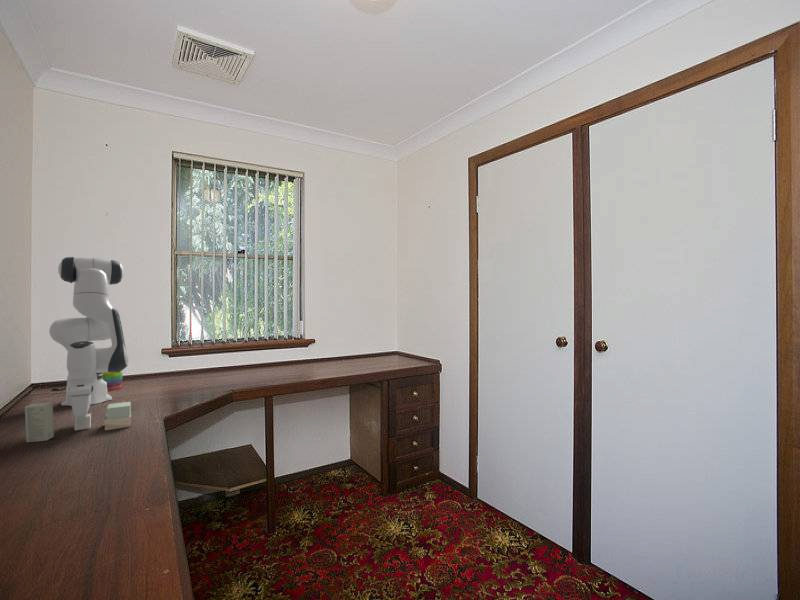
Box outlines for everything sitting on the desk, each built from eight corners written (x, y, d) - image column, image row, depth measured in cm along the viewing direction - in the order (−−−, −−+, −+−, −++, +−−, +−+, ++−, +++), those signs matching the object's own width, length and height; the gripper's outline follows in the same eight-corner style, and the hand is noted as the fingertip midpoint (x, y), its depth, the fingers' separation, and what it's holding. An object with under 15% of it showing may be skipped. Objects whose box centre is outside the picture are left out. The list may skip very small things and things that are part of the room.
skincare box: (54, 436, 144) (54, 401, 144) (46, 441, 140) (46, 405, 140) (33, 438, 143) (32, 403, 143) (24, 442, 139) (24, 406, 139)
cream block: (75, 427, 155) (75, 415, 155) (91, 425, 157) (90, 413, 157) (74, 430, 151) (74, 418, 151) (90, 428, 154) (89, 416, 154)
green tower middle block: (108, 414, 158) (108, 404, 158) (130, 411, 162) (130, 401, 162) (107, 419, 152) (106, 408, 152) (129, 416, 156) (129, 405, 156)
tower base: (105, 425, 158) (105, 414, 158) (131, 421, 162) (130, 411, 162) (104, 431, 151) (104, 420, 151) (131, 427, 156) (131, 416, 155)
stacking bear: (103, 387, 223) (103, 354, 222) (125, 386, 226) (125, 353, 225) (96, 392, 212) (95, 357, 212) (119, 390, 215) (118, 356, 215)
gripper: (74, 382, 161) (75, 417, 161) (67, 392, 144) (68, 432, 144) (95, 380, 165) (95, 415, 165) (90, 389, 147) (91, 428, 148)
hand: (83, 423), depth 154 cm, fingers open, 5 cm apart
